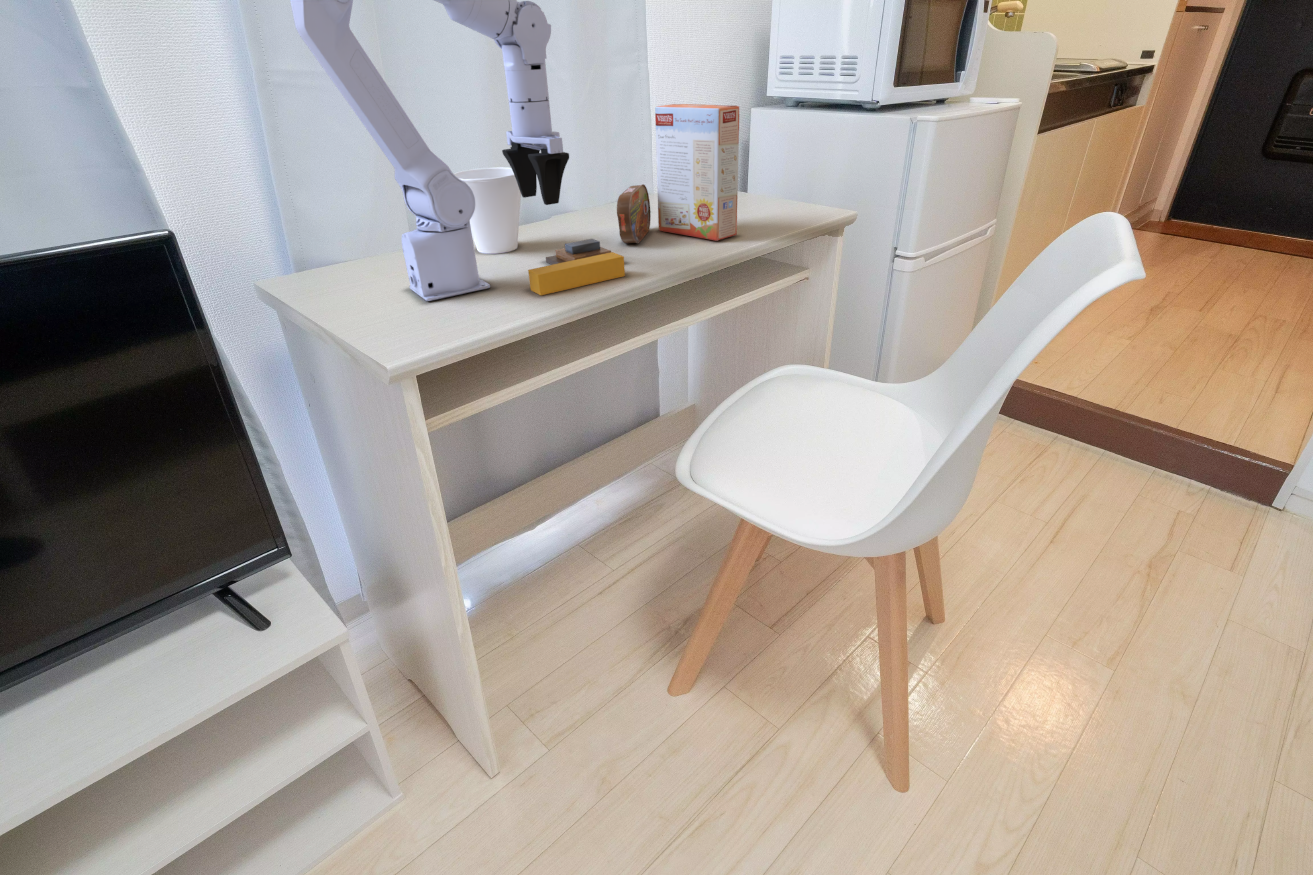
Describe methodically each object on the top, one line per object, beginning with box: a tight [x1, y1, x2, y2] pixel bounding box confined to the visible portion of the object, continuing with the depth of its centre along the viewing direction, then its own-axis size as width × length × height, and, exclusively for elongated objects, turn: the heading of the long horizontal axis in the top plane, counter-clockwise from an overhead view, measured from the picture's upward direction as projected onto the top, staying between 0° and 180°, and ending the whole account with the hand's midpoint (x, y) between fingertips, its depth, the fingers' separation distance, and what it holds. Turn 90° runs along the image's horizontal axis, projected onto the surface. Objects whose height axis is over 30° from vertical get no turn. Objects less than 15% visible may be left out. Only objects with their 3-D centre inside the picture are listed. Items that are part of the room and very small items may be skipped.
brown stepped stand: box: [545, 238, 612, 265], centre depth 110 cm, size 9×9×3 cm
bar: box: [527, 251, 626, 296], centre depth 101 cm, size 14×3×3 cm, turn 125°
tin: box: [616, 184, 651, 244], centre depth 122 cm, size 15×3×8 cm, turn 168°
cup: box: [452, 166, 522, 255], centre depth 117 cm, size 12×12×12 cm
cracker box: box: [654, 103, 740, 242], centre depth 120 cm, size 14×6×21 cm, turn 46°
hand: (540, 200), depth 106 cm, fingers open, 7 cm apart
